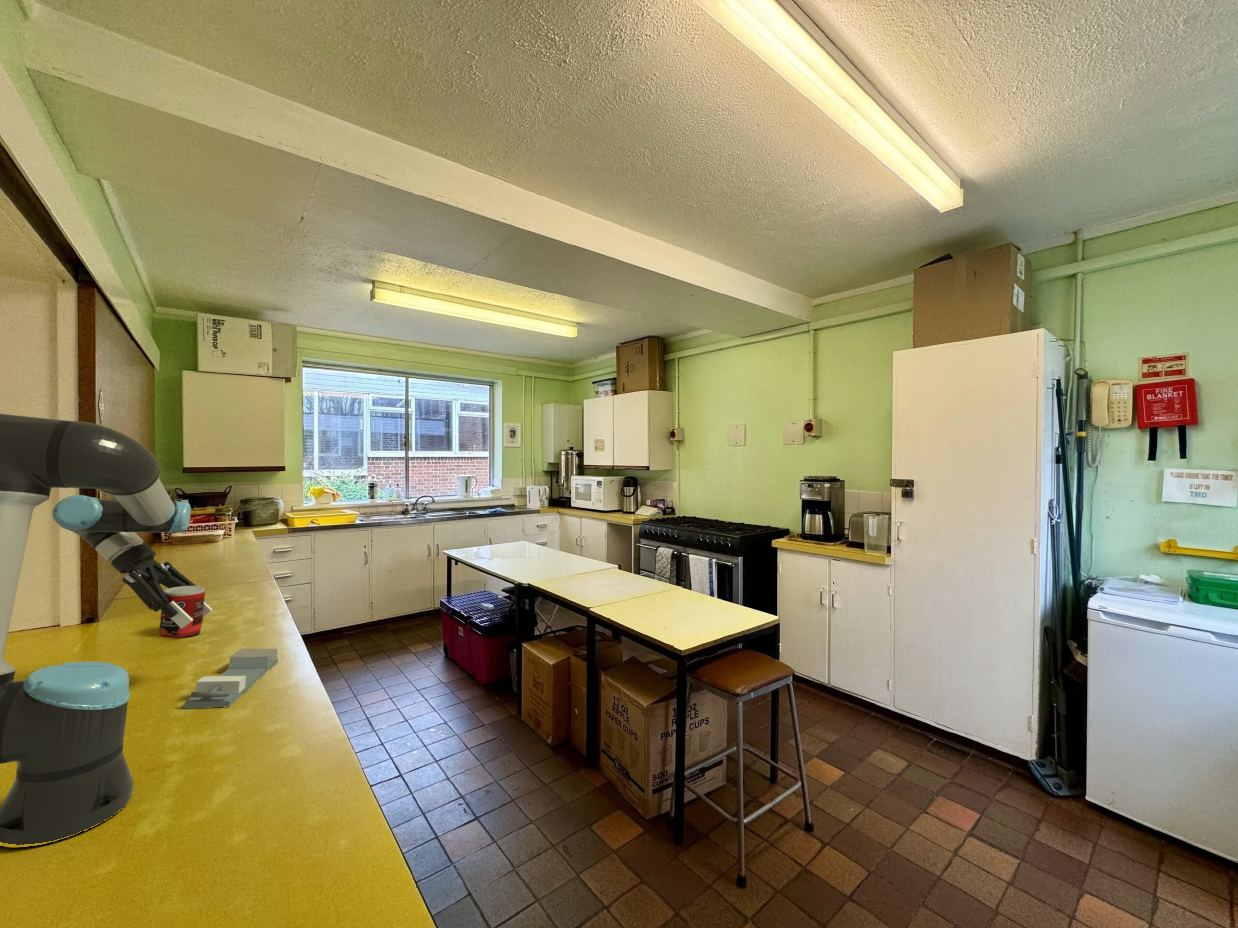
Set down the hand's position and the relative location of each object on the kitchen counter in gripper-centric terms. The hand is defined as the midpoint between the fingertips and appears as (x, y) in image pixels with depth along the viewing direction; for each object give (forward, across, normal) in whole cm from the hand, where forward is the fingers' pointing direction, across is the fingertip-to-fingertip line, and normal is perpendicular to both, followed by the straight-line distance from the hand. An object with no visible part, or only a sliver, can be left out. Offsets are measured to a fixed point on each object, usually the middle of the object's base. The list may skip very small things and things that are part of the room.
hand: (197, 618), depth 124 cm
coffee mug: (-2, -36, -26) cm, 44 cm away
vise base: (+19, 0, -5) cm, 19 cm away
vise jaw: (+18, -9, -4) cm, 20 cm away
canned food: (0, 0, -5) cm, 5 cm away
